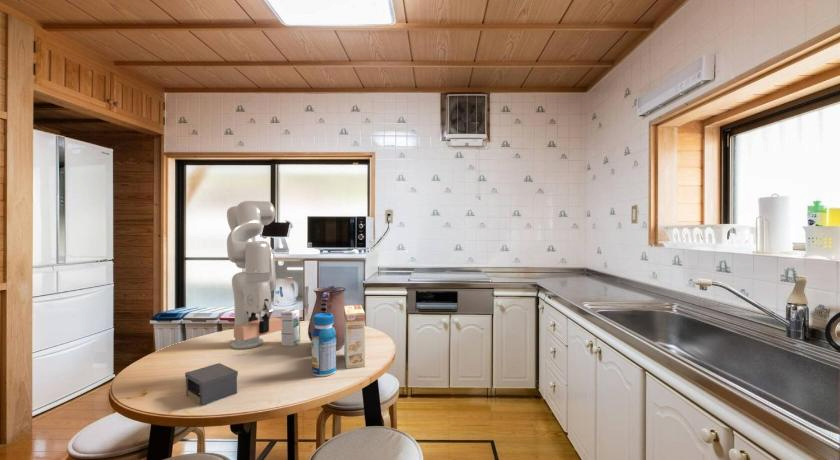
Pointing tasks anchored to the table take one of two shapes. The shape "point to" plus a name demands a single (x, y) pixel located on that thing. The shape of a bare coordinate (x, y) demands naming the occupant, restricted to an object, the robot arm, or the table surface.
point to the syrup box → (290, 327)
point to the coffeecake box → (354, 336)
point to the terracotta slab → (256, 328)
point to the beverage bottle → (323, 345)
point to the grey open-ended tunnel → (211, 383)
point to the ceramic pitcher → (330, 310)
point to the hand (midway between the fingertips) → (258, 330)
